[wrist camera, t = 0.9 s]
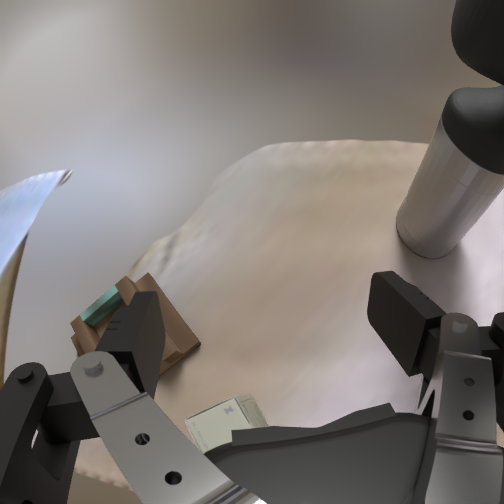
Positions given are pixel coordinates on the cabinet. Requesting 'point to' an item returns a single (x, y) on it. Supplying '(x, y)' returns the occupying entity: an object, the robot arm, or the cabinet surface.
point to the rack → (121, 294)
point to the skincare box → (224, 421)
